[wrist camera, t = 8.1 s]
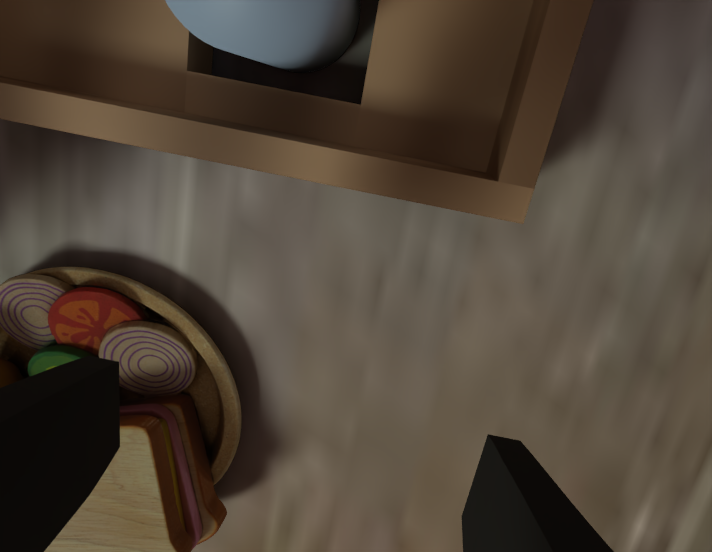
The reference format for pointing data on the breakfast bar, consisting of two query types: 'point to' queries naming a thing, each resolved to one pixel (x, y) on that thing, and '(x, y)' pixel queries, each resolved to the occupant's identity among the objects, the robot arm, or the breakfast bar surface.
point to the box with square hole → (309, 112)
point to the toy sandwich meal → (132, 404)
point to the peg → (274, 29)
